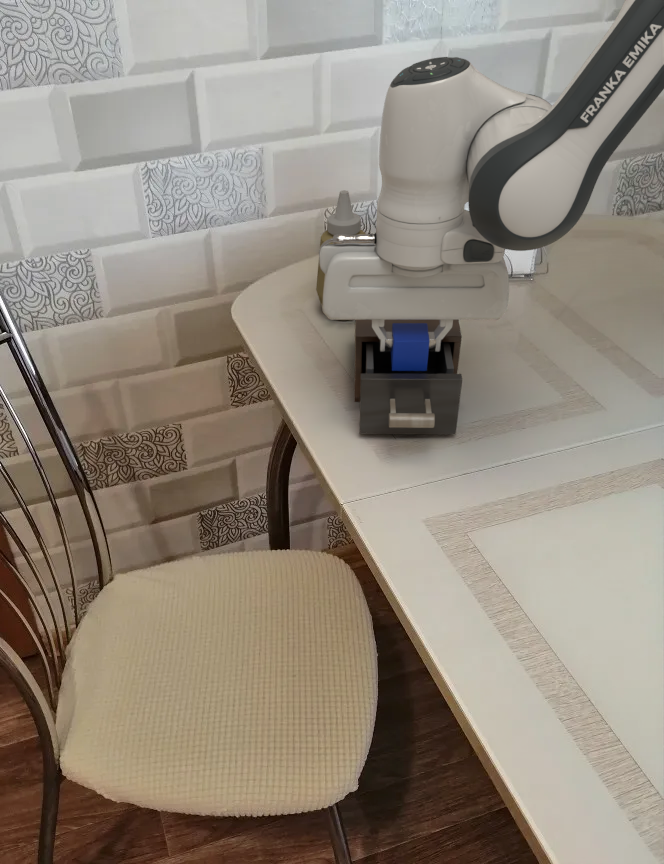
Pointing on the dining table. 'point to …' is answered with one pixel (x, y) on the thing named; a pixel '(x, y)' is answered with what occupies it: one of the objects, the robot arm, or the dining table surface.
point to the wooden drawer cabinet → (367, 333)
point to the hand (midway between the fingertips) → (409, 349)
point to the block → (410, 347)
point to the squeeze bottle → (338, 230)
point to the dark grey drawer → (409, 395)
